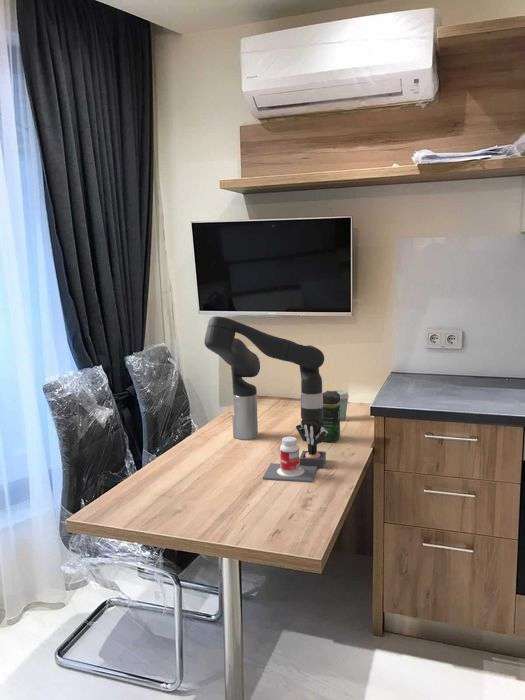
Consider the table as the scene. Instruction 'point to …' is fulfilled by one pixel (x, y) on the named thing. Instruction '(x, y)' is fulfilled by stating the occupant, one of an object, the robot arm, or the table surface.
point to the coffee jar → (331, 415)
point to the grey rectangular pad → (302, 475)
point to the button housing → (313, 460)
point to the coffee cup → (343, 404)
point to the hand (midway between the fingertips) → (312, 454)
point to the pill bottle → (289, 455)
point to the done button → (312, 455)
